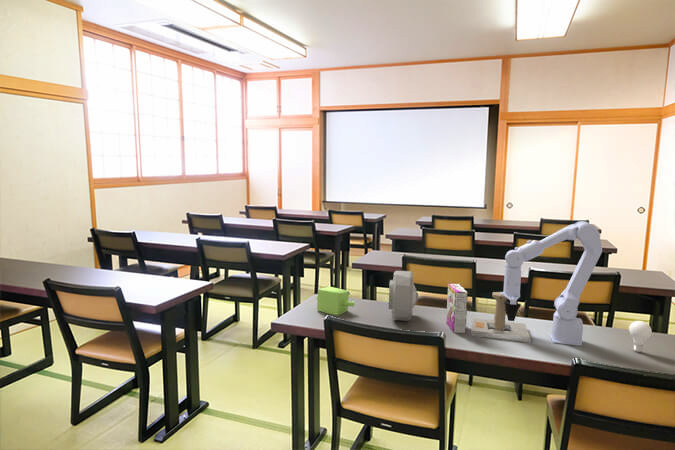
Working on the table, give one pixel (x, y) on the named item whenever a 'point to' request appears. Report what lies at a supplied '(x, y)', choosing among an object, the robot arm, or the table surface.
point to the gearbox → (333, 300)
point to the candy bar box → (457, 308)
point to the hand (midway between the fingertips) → (509, 317)
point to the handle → (499, 311)
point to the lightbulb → (639, 334)
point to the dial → (402, 295)
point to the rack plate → (516, 331)
